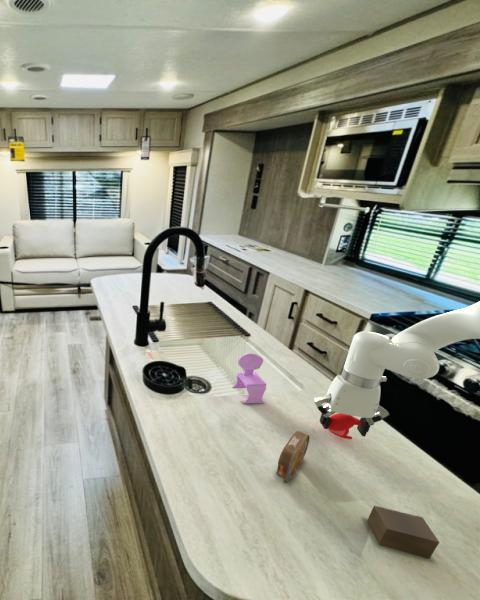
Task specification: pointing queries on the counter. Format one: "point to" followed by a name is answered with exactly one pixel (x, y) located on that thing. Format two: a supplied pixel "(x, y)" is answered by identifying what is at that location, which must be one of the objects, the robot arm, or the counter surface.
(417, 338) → the robot arm
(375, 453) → the counter surface
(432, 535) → the stop block
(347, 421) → the cap
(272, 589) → the counter surface
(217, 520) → the counter surface
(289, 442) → the tin
